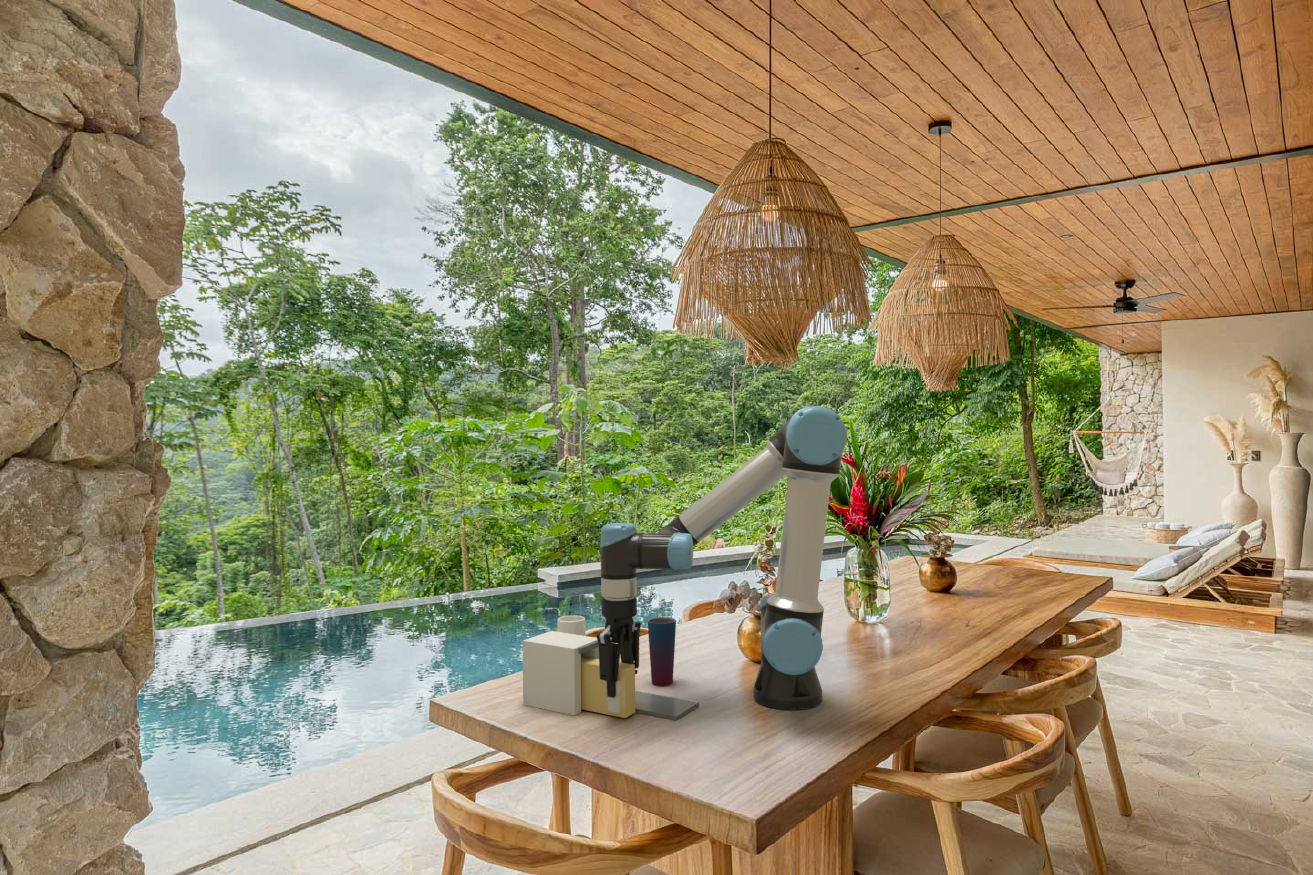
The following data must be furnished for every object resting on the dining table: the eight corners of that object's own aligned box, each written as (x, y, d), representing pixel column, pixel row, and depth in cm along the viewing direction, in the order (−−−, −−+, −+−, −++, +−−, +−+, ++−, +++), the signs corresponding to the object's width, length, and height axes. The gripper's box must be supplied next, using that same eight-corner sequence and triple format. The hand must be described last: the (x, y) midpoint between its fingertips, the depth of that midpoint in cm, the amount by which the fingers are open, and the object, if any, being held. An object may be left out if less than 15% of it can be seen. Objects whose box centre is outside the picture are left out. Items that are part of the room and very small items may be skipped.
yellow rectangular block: (635, 712, 164) (634, 664, 165) (625, 717, 161) (624, 669, 161) (581, 701, 172) (581, 656, 172) (570, 706, 168) (570, 660, 168)
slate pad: (698, 706, 169) (698, 702, 169) (676, 720, 160) (676, 716, 160) (636, 694, 177) (636, 690, 177) (611, 707, 169) (611, 703, 169)
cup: (681, 680, 187) (680, 618, 187) (669, 689, 181) (669, 624, 181) (655, 677, 190) (654, 615, 190) (643, 685, 184) (642, 621, 184)
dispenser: (603, 702, 172) (603, 638, 172) (576, 715, 163) (576, 649, 164) (551, 691, 180) (551, 630, 180) (523, 704, 171) (522, 640, 171)
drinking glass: (581, 685, 184) (580, 622, 184) (553, 684, 185) (553, 620, 185) (589, 677, 190) (588, 615, 190) (562, 675, 192) (562, 614, 192)
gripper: (626, 588, 173) (627, 693, 173) (580, 602, 159) (581, 717, 159) (655, 591, 170) (656, 699, 169) (610, 606, 155) (612, 724, 155)
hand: (620, 707), depth 164 cm, fingers closed on yellow rectangular block, 4 cm apart
